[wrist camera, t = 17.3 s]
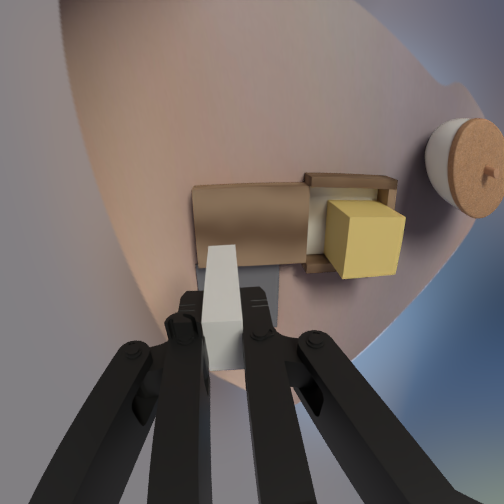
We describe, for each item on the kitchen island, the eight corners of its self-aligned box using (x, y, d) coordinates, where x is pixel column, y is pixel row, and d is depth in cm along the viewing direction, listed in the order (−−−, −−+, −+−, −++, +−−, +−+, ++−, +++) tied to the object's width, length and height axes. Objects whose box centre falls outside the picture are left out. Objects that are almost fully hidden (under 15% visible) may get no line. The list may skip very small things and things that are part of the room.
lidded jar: (475, 176, 29) (524, 195, 21) (425, 213, 31) (474, 243, 22) (453, 102, 25) (508, 106, 17) (396, 135, 27) (452, 144, 18)
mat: (195, 264, 31) (195, 265, 31) (278, 259, 32) (279, 261, 31) (204, 328, 35) (203, 330, 34) (276, 324, 35) (277, 326, 35)
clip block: (349, 217, 24) (405, 217, 24) (327, 199, 29) (377, 200, 29) (342, 279, 26) (395, 274, 26) (323, 252, 32) (370, 250, 32)
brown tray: (193, 175, 27) (190, 180, 25) (386, 175, 29) (397, 180, 26) (200, 268, 31) (199, 279, 29) (375, 258, 33) (384, 267, 30)
